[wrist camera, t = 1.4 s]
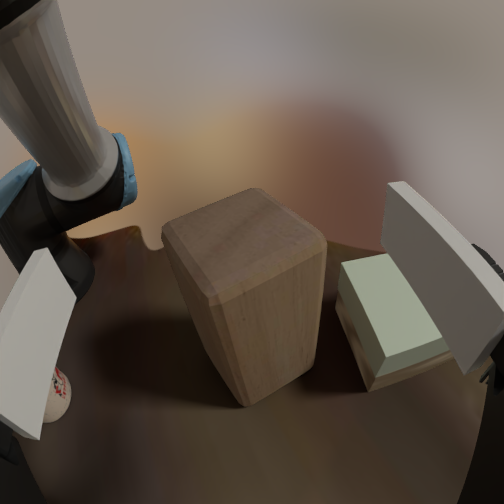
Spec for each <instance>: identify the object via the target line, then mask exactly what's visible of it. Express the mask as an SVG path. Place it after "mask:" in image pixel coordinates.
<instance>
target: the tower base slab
mask: <svg viewBox="0 0 504 504" xmlns="http://www.w3.org/2000/svg"><path fill="white" fill-rule="evenodd" d="M335 309H336V312H337V314H338V317H339V319H340V322H341V324H342V326H343V329H344V331H345V334H346V336H347V339H348V341H349V344H350V346H351V349H352V352H353V354H354V357H355V359H356V362H357V364H358V367H359V370H360V372H361V375H362V377H363V380H364V383H365V385H366V388H367V391H368V392H370V391H373V390H376V389H379V388H382V387H385V386H388V385H391V384H394V383H396V382H399V381H402V380H405V379H407V378H410V377H412V376H415V375H417V374H420V373H422V372H425V371H427V370H430V369H432V368H434V367H437V366H439V365H441V364H444V363H446V362H448V361H450V360H452V359H454V356H453V354H452V353H451V351H450V350H448V351H446V352H443V353H441V354H439V355H436V356H434V357H431V358H429V359H426V360H424V361H421V362H419V363H416V364H413V365H411V366H408V367H405V368H402V369H400V370H397V371H394V372H391V373H388V374H385V375H382V376H379V377H376V378H375V376H374V374H373V371H372V369H371V366H370V364H369V361H368V359H367V356H366V354H365V351H364V349H363V346H362V344H361V341H360V339H359V337H358V334H357V332H356V329H355V327H354V325H353V322H352V320H351V318H350V315H349V313H348V311H347V308H346V306H345V304H344V302H343V299H342V297H341V295H340V293H339V290H338V294H337V300H336V306H335Z"/></svg>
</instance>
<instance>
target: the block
mask: <svg viewBox="0 0 504 504" xmlns="http://www.w3.org/2000/svg"><path fill="white" fill-rule="evenodd" d="M161 239H162V242H163V244H164V247H165V250H166V253H167V256H168V258H169V261H170V264H171V267H172V269H173V272H174V275H175V277H176V280H177V282H178V285H179V288H180V290H181V293H182V295H183V298H184V300H185V303H186V305H187V308H188V310H189V313H190V315H191V318H192V320H193V322H194V325H195V327H196V330H197V332H198V334H199V337H200V339H201V341H202V344H203V346H204V348H205V351H206V353H207V354H208V356H209V358H210V359H211V361H212V362H213V364H214V366H215V367H216V369H217V370H218V372H219V374H220V375H221V377H222V378H223V380H224V381H225V383H226V384H227V386H228V388H229V389H230V391H231V392H232V394H233V395H234V397H235V398H236V400H237V401H238V403H239V404H241V405H243V406H244V407H247V406H251V405H253V404H255V403H257V402H258V401H260V400H262V399H263V398H265V397H267V396H268V395H270V394H272V393H273V392H275V391H277V390H278V389H280V388H281V387H283V386H285V385H286V384H288V383H289V382H291V381H293V380H294V379H296V378H297V377H299V376H300V375H302V374H303V373H305V372H306V371H308V370H309V369H311V367H312V366H313V364H314V360H315V353H316V345H317V338H318V330H319V322H320V314H321V305H322V296H323V287H324V276H325V265H326V254H327V242H326V239H325V237H324V236H323V234H322V232H320V231H319V230H317V229H316V228H315V227H314V226H312V225H311V224H310V223H308V222H307V221H305V220H304V219H303V218H301V217H300V216H299V215H297V214H296V213H294V212H293V211H292V210H290V209H289V208H287V207H286V206H285V205H283V204H282V203H280V202H279V201H278V200H276V199H275V198H273V197H272V196H271V195H269V194H268V193H266V192H265V191H263V190H262V189H259V188H250V189H247V190H245V191H242V192H240V193H237V194H235V195H232V196H230V197H227V198H225V199H222V200H220V201H217V202H215V203H212V204H210V205H207V206H205V207H202V208H200V209H198V210H195V211H193V212H190V213H188V214H186V215H183V216H181V217H179V218H176V219H174V220H172V221H169V222H167V223H166V224H165V225H164V226H163V227H162V235H161Z"/></svg>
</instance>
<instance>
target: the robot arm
mask: <svg viewBox="0 0 504 504" xmlns="http://www.w3.org/2000/svg"><path fill="white" fill-rule="evenodd" d="M0 118H1V119H2V120H3V121H4V123H5V124H6V125H7V126H8V127H9V129H10V130H11V131H12V133H13V134H14V135H15V136H16V137H17V139H18V140H19V141H20V142H21V143H22V145H23V146H24V147H25V148H26V149H27V151H28V152H29V153H30V154H31V155H32V156H33V157H34V159H35V160H36V161H37V162H38V163H39V164H40V166H38V167H37V164H36V163H35V162H34V160H32V159H30V160H28V161H25V162H23V163H21V164H20V165H18V166H17V167H15V168H14V169H13V170H11V171H10V172H9V173H8V174H6V175H5V176H4V177H3V178H2V179H1V180H0V244H1V246H2V248H3V249H4V251H5V253H6V254H7V256H8V257H9V259H10V260H11V262H12V263H13V265H14V267H15V268H16V269H17V271H18V273H19V275H20V276H19V277H18V279H17V281H16V283H15V285H14V287H13V288H12V290H11V292H10V294H9V296H8V298H7V300H6V302H5V304H4V306H3V308H2V310H1V312H0V504H47V502H46V500H45V499H44V497H43V495H42V493H41V491H40V489H39V487H38V485H37V483H36V481H35V479H34V477H33V475H32V473H31V471H30V468H29V466H28V464H27V462H26V459H25V457H24V455H23V452H22V450H21V447H20V445H19V442H18V441H17V439H16V438H15V437H14V436H12V432H13V430H14V431H16V432H17V433H19V434H20V435H22V436H23V437H26V438H31V439H36V440H40V433H41V428H42V422H43V417H44V412H45V407H46V402H47V397H48V393H49V389H50V384H51V380H52V376H53V372H54V368H55V365H56V361H57V357H58V354H59V350H60V347H61V344H62V340H63V337H64V334H65V331H66V328H67V324H68V321H69V318H70V315H71V313H72V310H73V307H74V304H75V303H77V302H78V301H79V300H80V299H81V298H82V297H83V296H84V295H85V293H86V292H87V291H88V289H89V288H90V286H91V284H92V282H93V279H94V275H95V268H94V265H93V263H92V261H91V259H90V257H89V256H88V254H87V253H86V252H84V251H83V250H82V249H80V248H79V247H78V245H77V244H75V243H74V242H73V241H72V240H71V239H70V238H69V237H68V235H67V233H66V231H68V230H70V229H72V228H74V227H77V226H79V225H81V224H83V223H86V222H88V221H91V220H93V219H96V218H98V217H100V216H103V215H105V214H108V213H110V212H113V211H118V210H120V209H122V208H123V207H125V206H127V205H129V204H131V203H133V202H134V201H135V200H136V198H137V183H136V178H135V175H134V167H133V162H132V158H131V155H130V151H129V148H128V144H127V141H126V139H125V137H124V135H122V134H121V133H116V134H114V133H113V134H111V133H110V132H109V131H108V130H106V129H105V128H103V127H101V126H98V125H97V123H96V120H95V117H94V115H93V112H92V110H91V107H90V104H89V102H88V99H87V96H86V93H85V91H84V88H83V85H82V82H81V79H80V76H79V73H78V70H77V67H76V64H75V61H74V58H73V55H72V52H71V49H70V45H69V42H68V39H67V35H66V32H65V28H64V25H63V21H62V18H61V14H60V10H59V7H58V3H57V0H0ZM380 243H381V245H382V246H383V248H384V249H385V250H386V252H387V253H388V255H389V256H390V257H391V259H392V260H393V262H394V263H395V264H396V266H397V267H398V269H399V270H400V272H401V273H402V274H403V276H404V277H405V279H406V280H407V282H408V283H409V285H410V286H411V288H412V289H413V291H414V292H415V294H416V295H417V297H418V298H419V300H420V301H421V303H422V305H423V306H424V308H425V309H426V311H427V312H428V314H429V316H430V317H431V319H432V320H433V322H434V324H435V325H436V327H437V329H438V330H439V332H440V334H441V335H442V337H443V339H444V340H445V342H446V344H447V346H448V347H449V349H450V351H451V353H452V354H453V356H454V358H455V360H456V362H457V363H458V365H459V367H460V369H461V371H462V373H463V375H466V374H468V373H470V372H472V371H474V370H476V369H477V368H479V367H481V366H482V365H483V363H484V362H485V361H486V360H487V358H488V357H489V356H491V358H492V359H493V362H492V364H491V365H490V366H489V367H488V369H487V370H486V371H485V372H484V374H483V375H482V376H481V378H480V381H479V382H481V383H482V382H483V381H484V380H485V379H486V377H487V376H488V375H489V379H488V380H487V382H486V384H488V386H487V393H486V399H485V405H484V411H483V416H482V421H481V426H480V430H479V435H478V439H477V443H476V447H475V451H474V454H473V458H472V461H471V465H470V468H469V471H468V474H467V477H466V480H465V483H464V486H463V489H462V492H461V495H460V497H459V500H458V503H457V504H504V273H503V270H502V269H501V268H500V267H499V265H496V263H495V261H494V260H493V259H492V258H491V257H490V255H489V254H488V253H487V252H485V251H484V250H483V249H481V248H480V247H478V246H477V245H475V244H470V243H469V242H468V241H467V240H466V239H465V238H464V237H463V236H462V235H461V234H460V233H459V232H458V231H457V230H456V229H455V228H454V227H453V226H452V225H451V224H450V223H449V222H448V221H447V220H446V219H445V218H444V217H443V216H442V215H441V214H440V213H439V212H438V211H437V210H436V209H435V208H434V207H432V206H431V205H430V204H429V203H428V202H427V201H426V200H425V199H424V198H423V197H422V196H420V195H419V194H418V193H417V192H416V191H415V190H414V189H413V188H411V187H410V186H409V185H408V184H407V183H405V182H404V181H403V182H393V183H387V193H386V202H385V211H384V219H383V227H382V234H381V241H380Z"/></svg>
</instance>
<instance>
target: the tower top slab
mask: <svg viewBox="0 0 504 504" xmlns="http://www.w3.org/2000/svg"><path fill="white" fill-rule="evenodd" d="M338 290H339V293H340V295H341V297H342V299H343V302H344V304H345V306H346V308H347V311H348V313H349V315H350V318H351V320H352V322H353V325H354V327H355V329H356V332H357V334H358V337H359V339H360V341H361V344H362V346H363V349H364V351H365V354H366V356H367V359H368V361H369V364H370V366H371V369H372V371H373V374H374V376H375V378H376V377H379V376H382V375H385V374H388V373H391V372H394V371H397V370H400V369H402V368H405V367H408V366H411V365H413V364H416V363H419V362H421V361H424V360H426V359H429V358H431V357H434V356H436V355H439V354H441V353H443V352H446V351H448V350H450V349H449V347H448V346H447V344H446V342H445V340H444V339H443V337H442V335H441V334H440V332H439V330H438V329H437V327H436V325H435V324H434V322H433V320H432V319H431V317H430V316H429V314H428V312H427V311H426V309H425V308H424V306H423V305H422V303H421V301H420V300H419V298H418V297H417V295H416V294H415V292H414V291H413V289H412V288H411V286H410V285H409V283H408V282H407V280H406V279H405V277H404V276H403V274H402V273H401V272H400V270H399V269H398V267H397V266H396V264H395V263H394V262H393V260H392V259H391V257H390V256H389V255H388V253H387V254H382V255H377V256H372V257H367V258H362V259H357V260H352V261H347V262H342V263H341V269H340V276H339V283H338Z"/></svg>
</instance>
